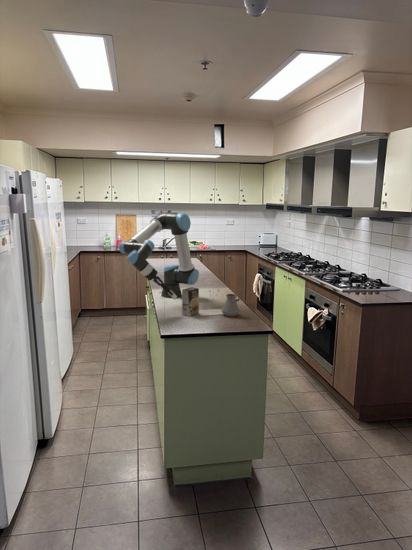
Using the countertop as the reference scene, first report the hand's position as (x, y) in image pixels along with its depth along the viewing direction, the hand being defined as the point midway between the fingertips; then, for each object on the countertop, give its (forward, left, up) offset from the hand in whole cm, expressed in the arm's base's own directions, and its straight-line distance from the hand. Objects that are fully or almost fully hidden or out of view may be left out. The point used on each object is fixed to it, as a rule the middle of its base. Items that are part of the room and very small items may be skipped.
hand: (175, 297), depth 246 cm
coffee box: (0, +10, -11) cm, 15 cm away
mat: (0, +24, -11) cm, 26 cm away
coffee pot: (+13, +33, -11) cm, 37 cm away
